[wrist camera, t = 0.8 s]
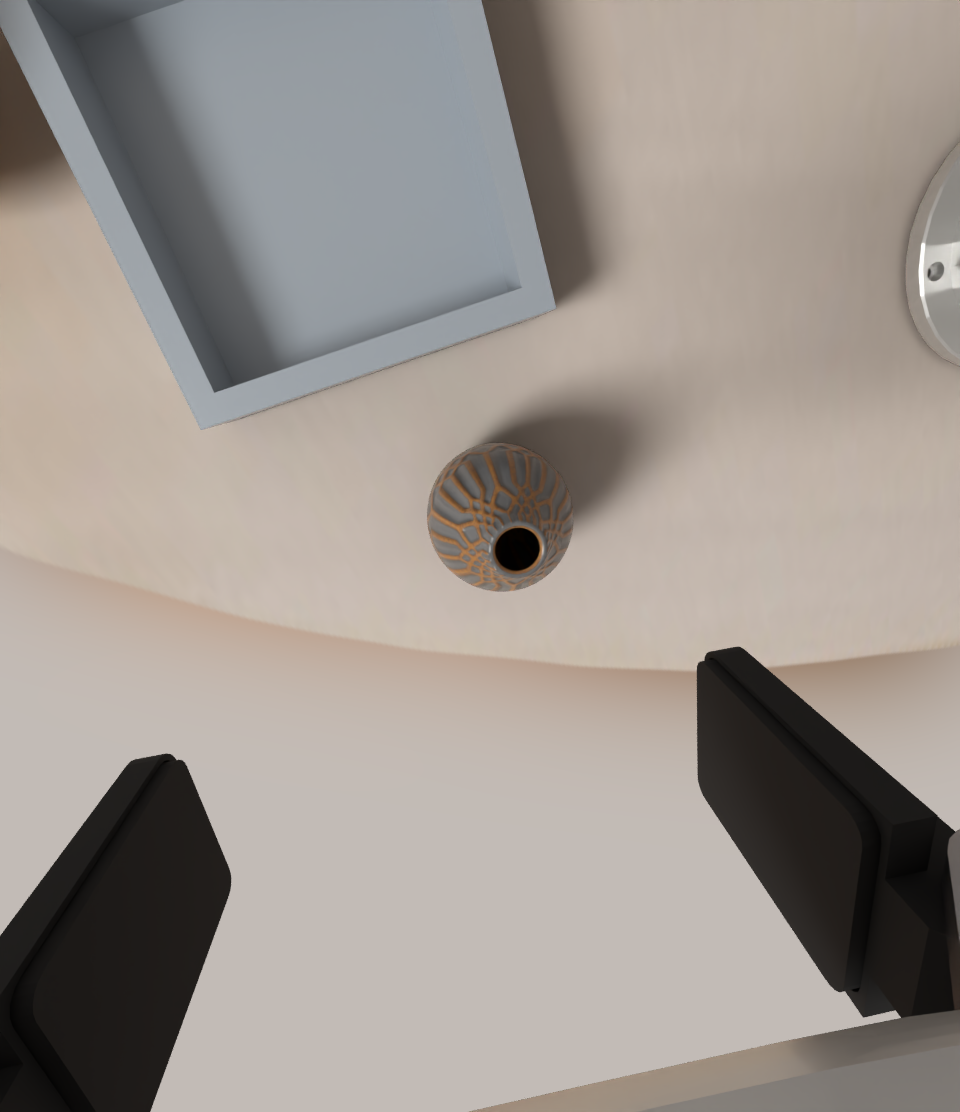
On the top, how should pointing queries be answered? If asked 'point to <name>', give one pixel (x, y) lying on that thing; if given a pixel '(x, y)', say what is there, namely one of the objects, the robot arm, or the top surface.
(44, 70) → the bin
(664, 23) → the top surface
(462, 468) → the vase
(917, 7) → the top surface
